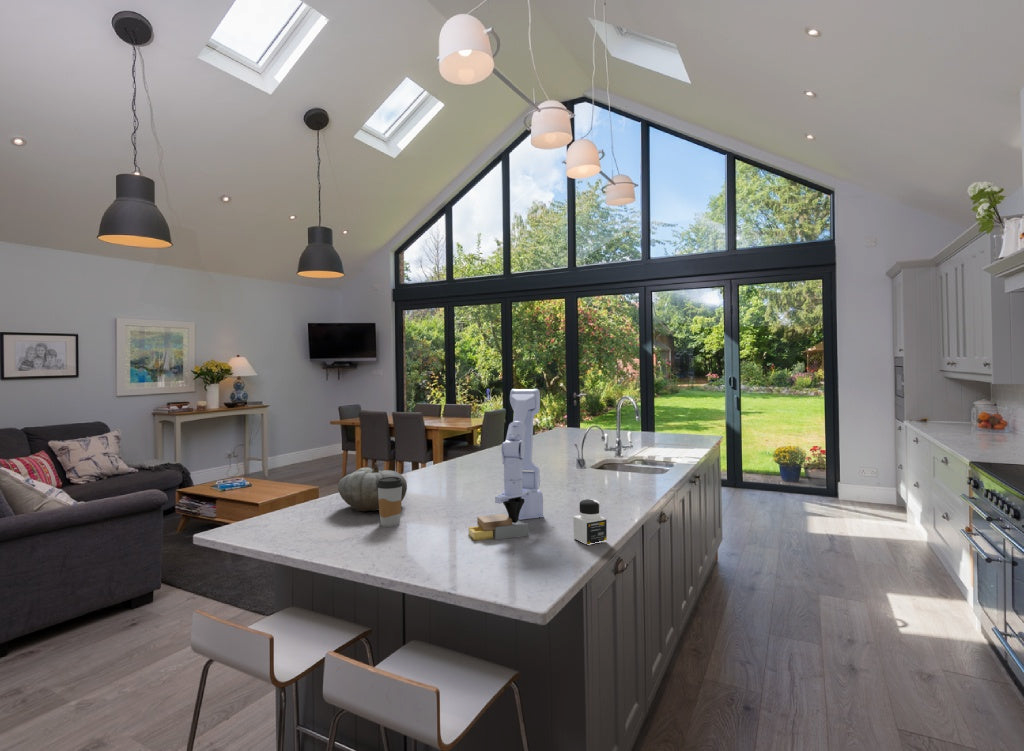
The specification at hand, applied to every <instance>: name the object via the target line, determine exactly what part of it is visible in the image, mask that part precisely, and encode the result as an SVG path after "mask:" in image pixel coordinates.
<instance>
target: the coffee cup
mask: <svg viewBox="0 0 1024 751" xmlns="http://www.w3.org/2000/svg"><path fill="white" fill-rule="evenodd" d="M402 486H403V485H402V481H401V478H399V477H385V478H380V479H379V481H378V483H377V487H378V498H379V500H378V501H379V510H378V512H379V521H380V524H381V526H382V527H384V528H385V527H387V528H388V527H389V528H390V527H396V526H399V525H400V523H401V514H402V513H401V512H402V501H403V500H402V498H401V496H402Z"/></svg>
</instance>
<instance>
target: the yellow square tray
mask: <svg viewBox="0 0 1024 751" xmlns="http://www.w3.org/2000/svg"><path fill="white" fill-rule="evenodd" d="M468 536H469V538H471V539H472V541H481V540H482V541H483V540H489V539H490V540H491V539H494V537H493V530H488V531H484V530H483V529H482V528H481V527H479V526H478V525H476V526H469V527H468Z"/></svg>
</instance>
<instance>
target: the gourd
mask: <svg viewBox="0 0 1024 751" xmlns="http://www.w3.org/2000/svg"><path fill="white" fill-rule="evenodd" d="M378 466H379V465H378V463H377V462H375V463H374V465H373V468H371V467H360V468H359V469H357V470H355V471H354V472H352V473H349V474H347V475H345V476H344V477H342V478H340V480H339V482H338V484H337V489H338V492H339V495H340V497H341V499H342V500H343V501H344V502H345V503H346V504H347V505H348V506H350V507H351V508H352V509H354V510H356V511H359V512H369V511H372V512H375V511H379V501H378V500H379V498H378V487H377V483H378V481H379V479H380V478H385V477H399V478H401V481H402V485H403V486H402V496H401V498H402V501H403V500H404V498H405V497H406V494H407V489H408V485H407V480H406V479H405V477H404V476H403V475H402V474H401V473H399V472H398V471H395V470H388V469H384V470H379V467H378Z"/></svg>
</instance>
